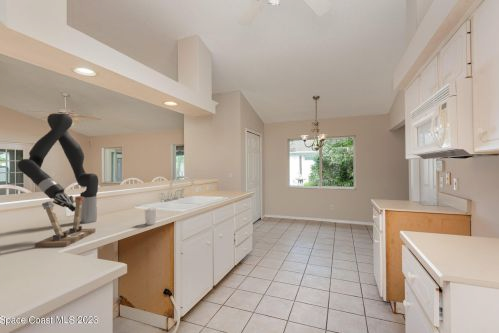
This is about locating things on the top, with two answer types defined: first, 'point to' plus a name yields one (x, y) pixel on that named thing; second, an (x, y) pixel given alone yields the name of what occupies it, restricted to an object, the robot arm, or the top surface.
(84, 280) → the top surface
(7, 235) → the top surface
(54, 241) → the switch board
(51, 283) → the top surface
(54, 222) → the slate lever
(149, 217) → the white cup
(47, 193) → the robot arm
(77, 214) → the terracotta lever
